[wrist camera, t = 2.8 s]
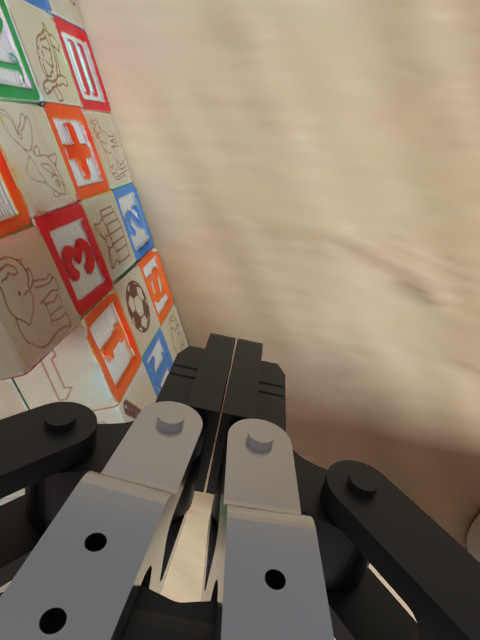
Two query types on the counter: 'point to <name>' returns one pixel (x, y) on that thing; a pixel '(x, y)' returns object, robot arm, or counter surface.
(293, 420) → the counter surface
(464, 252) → the counter surface
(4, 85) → the stack of blocks
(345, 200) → the counter surface
